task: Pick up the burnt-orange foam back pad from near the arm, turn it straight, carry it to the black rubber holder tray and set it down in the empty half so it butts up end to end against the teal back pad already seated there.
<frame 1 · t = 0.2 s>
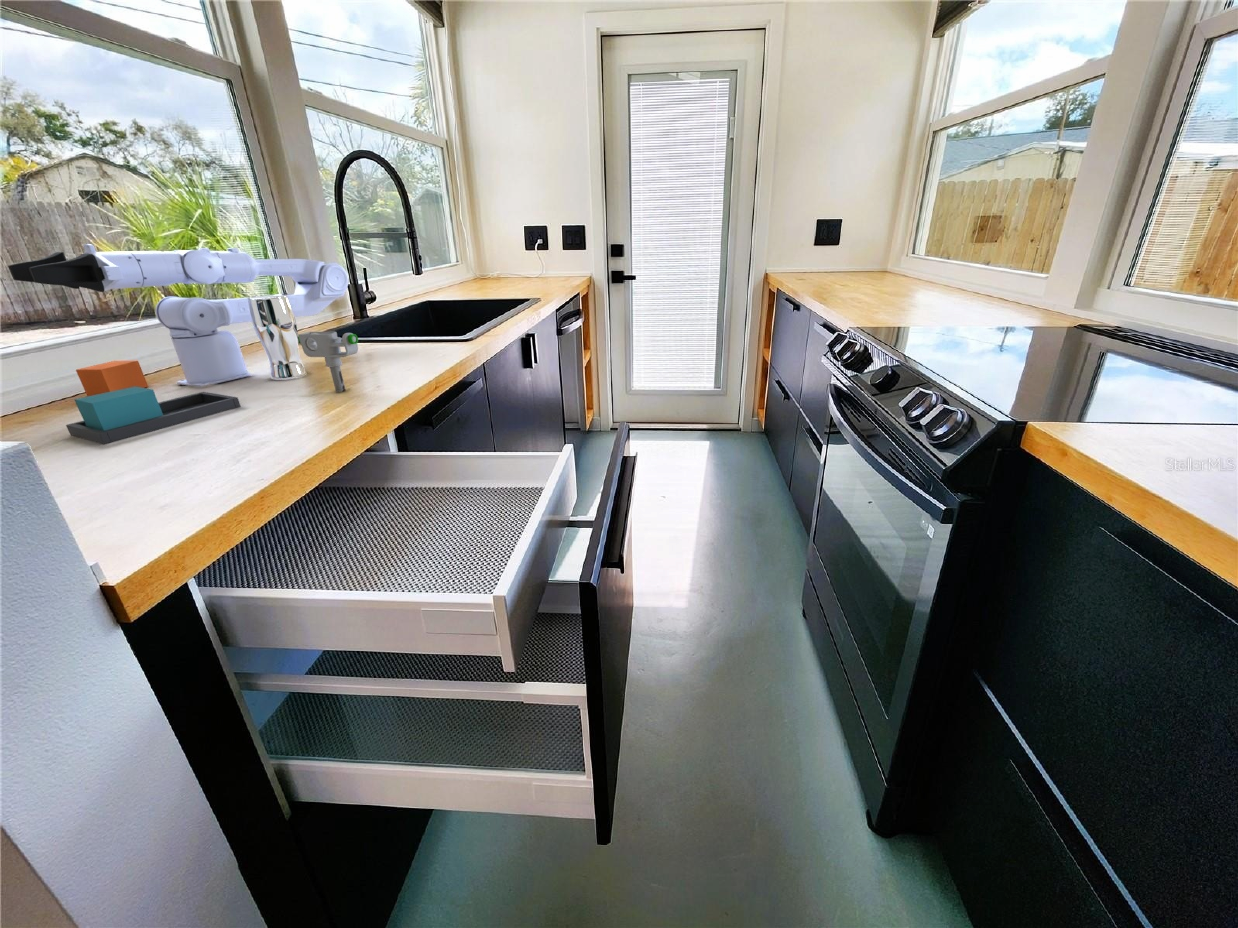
hand: (21, 274, 79), 21 cm above the counter, tool horizontal, fingers open, 7 cm apart
orange pad: (119, 391, 98), on the counter
pad tray: (162, 423, 79), on the counter
teal pad: (129, 428, 76), resting on pad tray
mechanical component: (341, 392, 93), on the counter
beer glass: (290, 377, 104), on the counter
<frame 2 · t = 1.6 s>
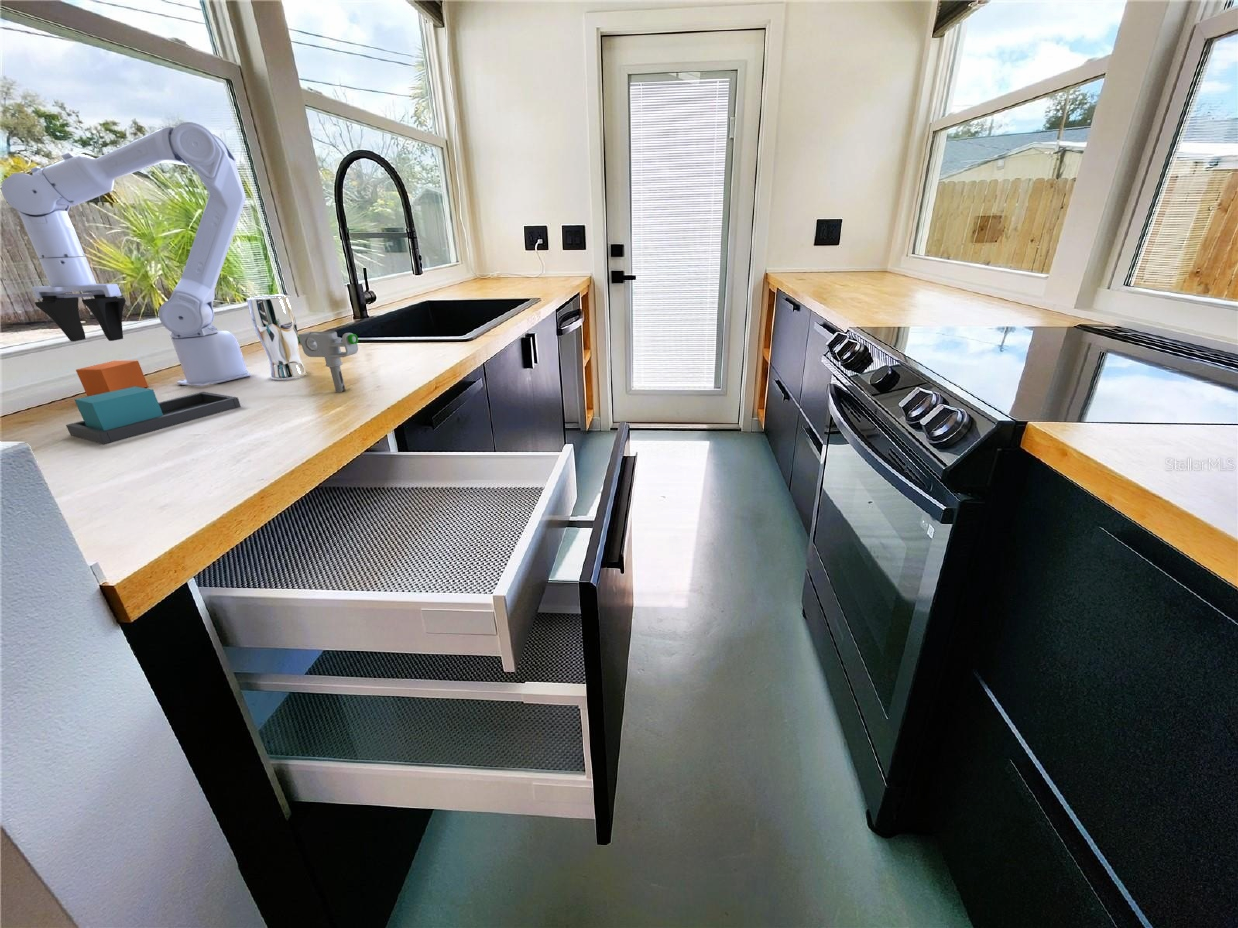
hand: (97, 340, 94), 9 cm above the counter, tool pointing down, fingers open, 7 cm apart
nothing on the counter moved.
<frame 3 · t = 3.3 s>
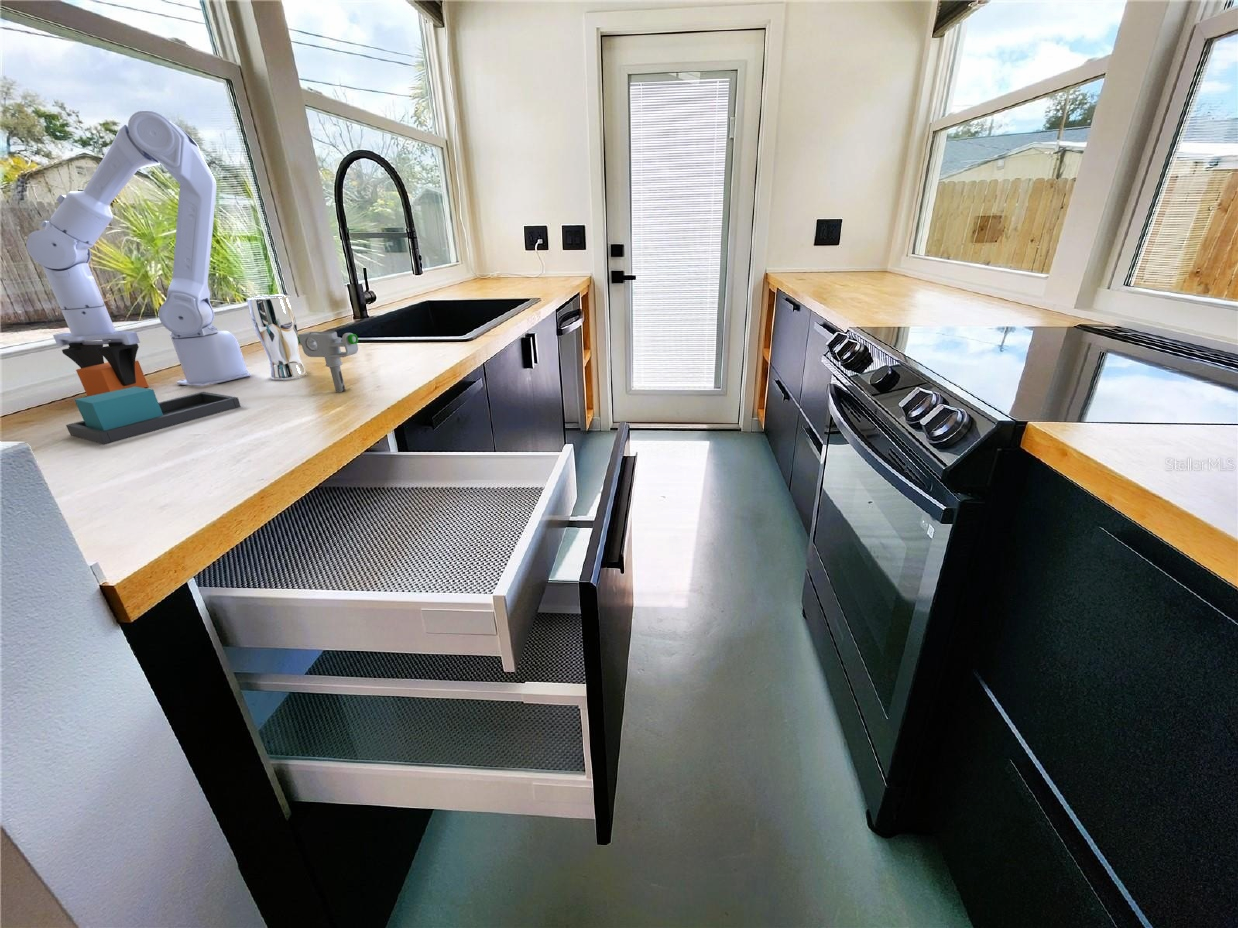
hand: (115, 384, 97), 1 cm above the counter, tool pointing down, fingers closed on orange pad, 5 cm apart
orange pad: (119, 391, 98), on the counter, touching gripper
everything else where it was.
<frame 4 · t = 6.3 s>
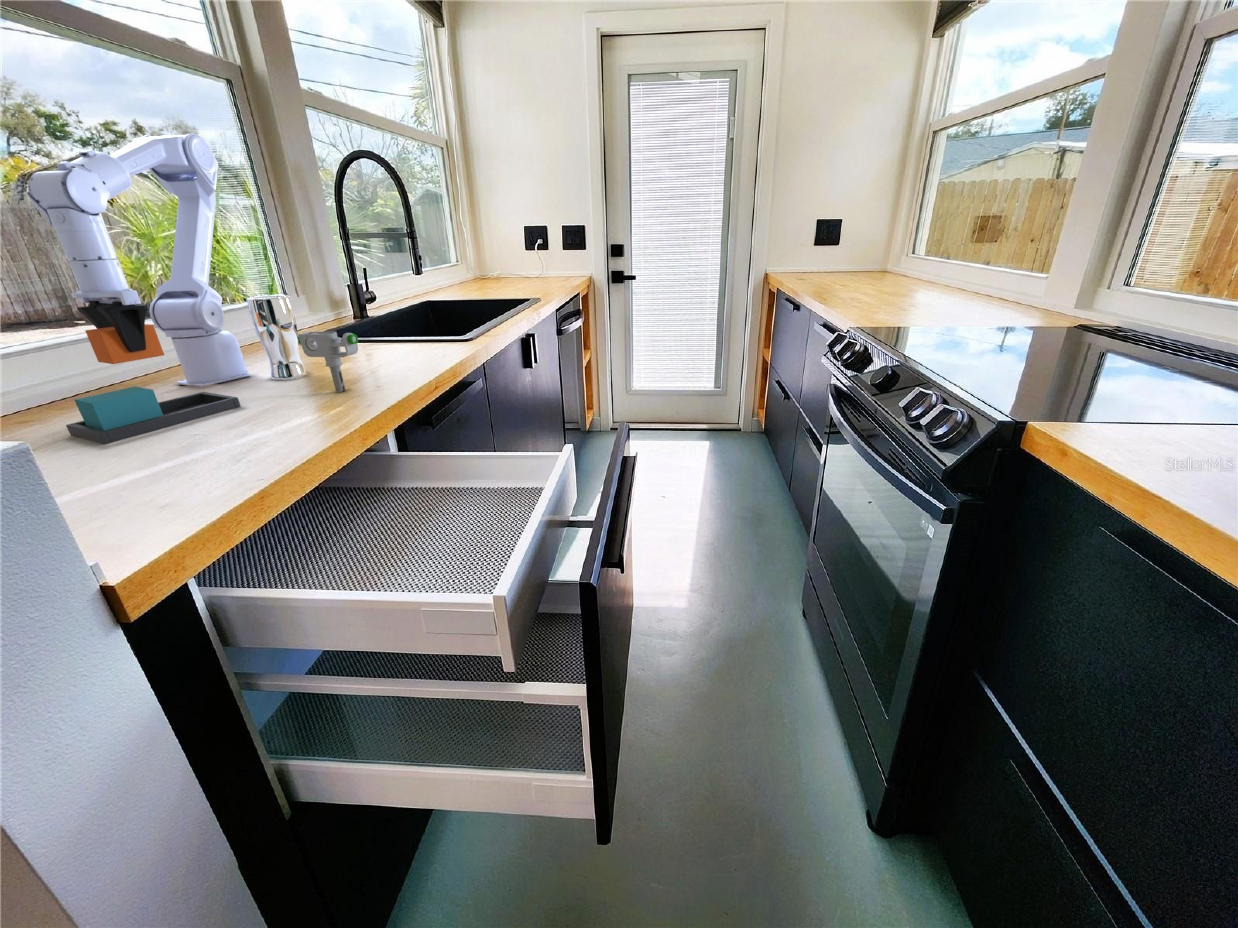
hand: (129, 349, 86), 9 cm above the counter, tool pointing down, fingers closed on orange pad, 5 cm apart
orange pad: (132, 358, 87), point 8 cm above the counter, touching gripper
everything else where it was.
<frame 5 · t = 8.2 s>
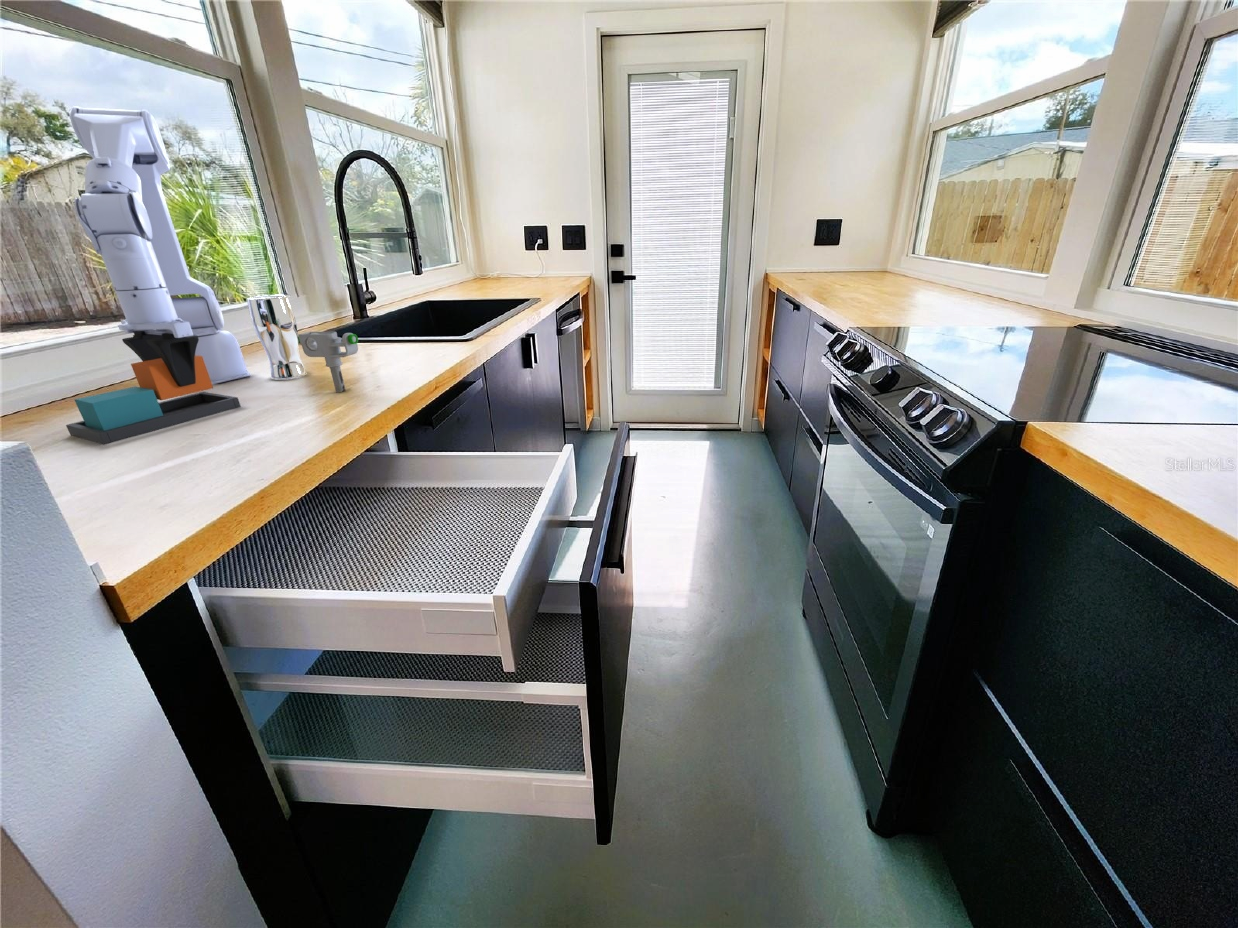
hand: (176, 383, 80), 5 cm above the counter, tool pointing down, fingers closed on orange pad, 5 cm apart
orange pad: (179, 392, 81), point 4 cm above the counter, touching gripper
everything else where it was.
when the fingers open (2 cm above the counter, at t = 9.7 s): orange pad stays where it is, resting on pad tray.
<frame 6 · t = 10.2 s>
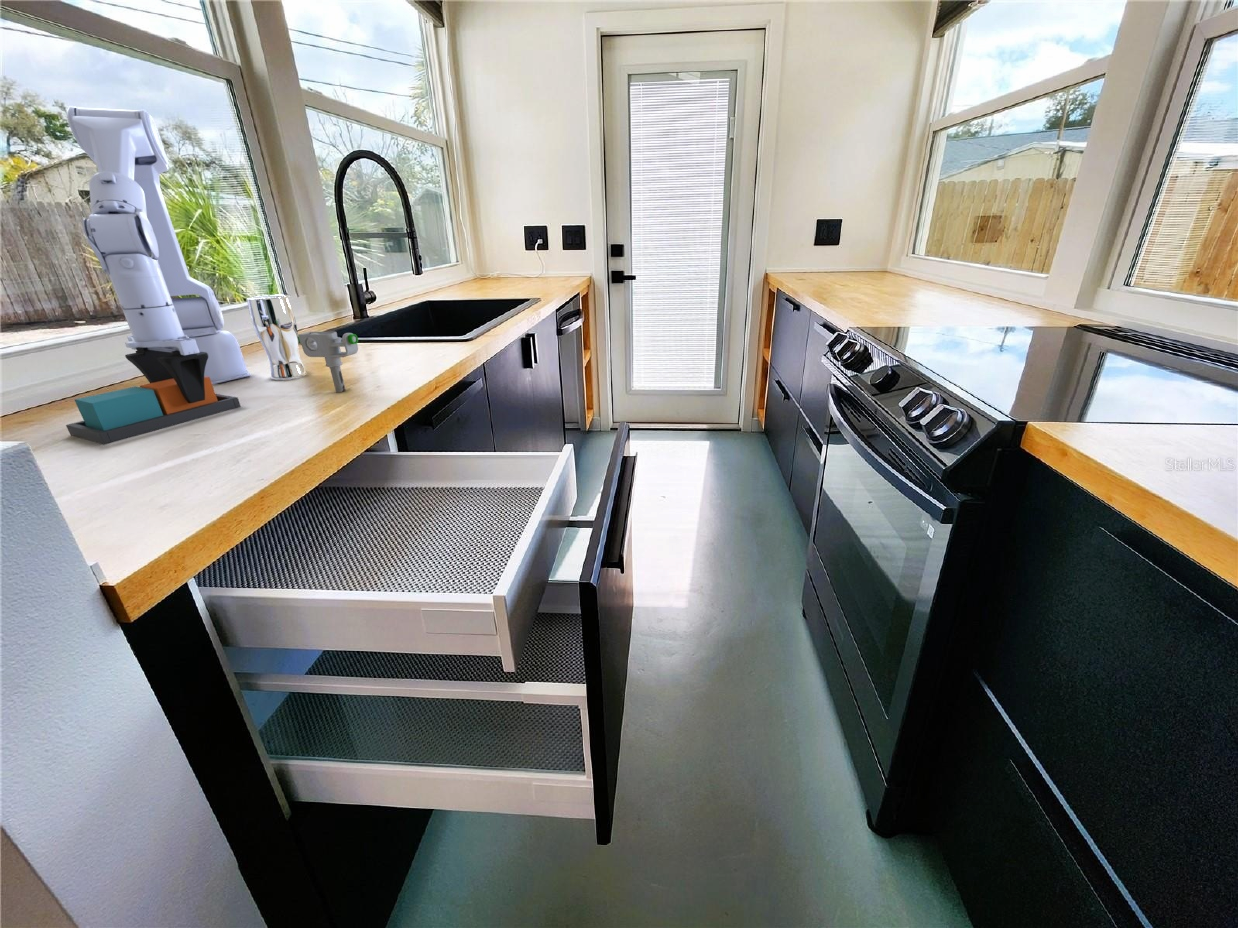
hand: (182, 398, 81), 3 cm above the counter, tool pointing down, fingers open, 7 cm apart
orange pad: (187, 413, 82), resting on pad tray
everything else where it was.
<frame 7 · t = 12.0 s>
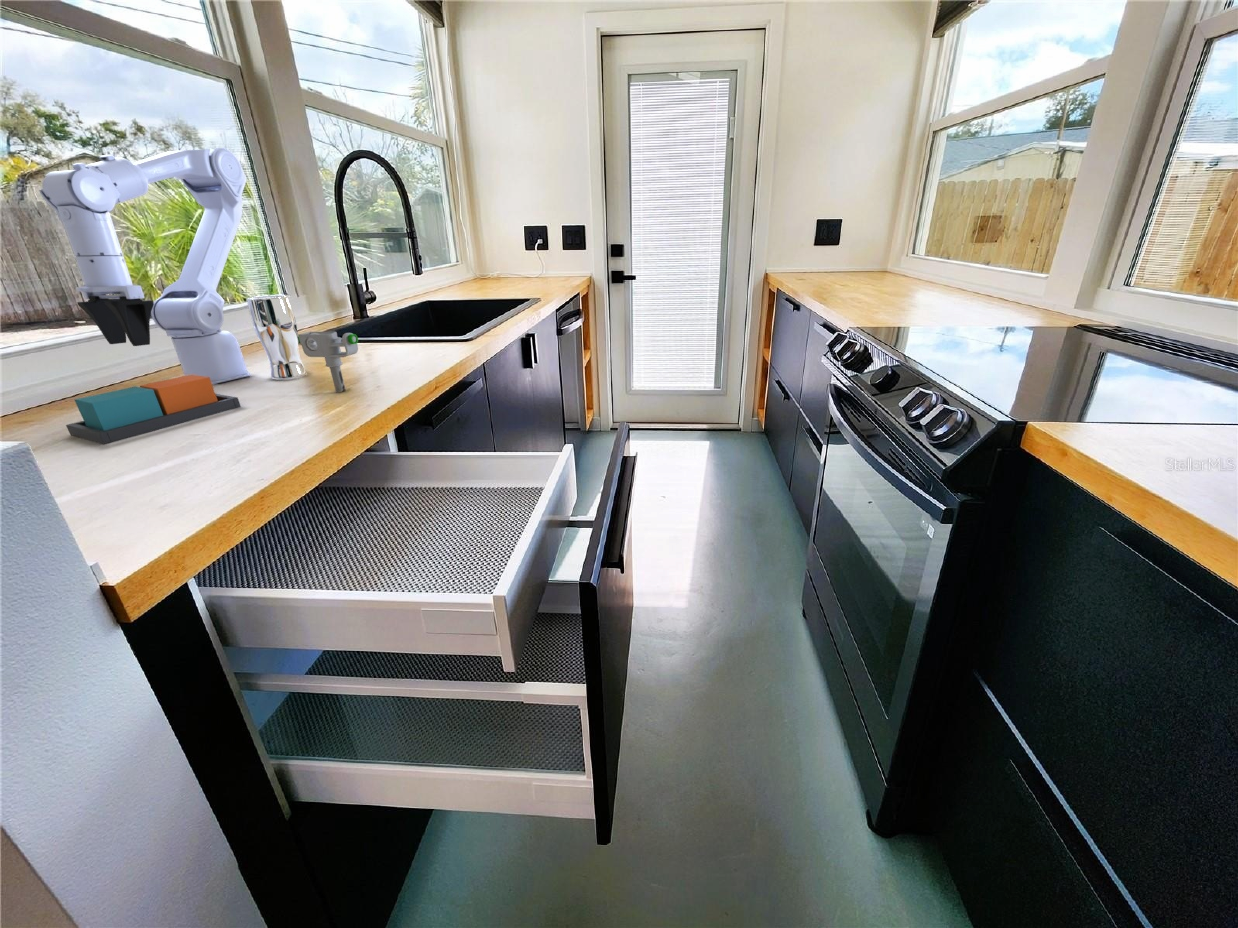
hand: (129, 344, 89), 9 cm above the counter, tool pointing down, fingers open, 7 cm apart
nothing on the counter moved.
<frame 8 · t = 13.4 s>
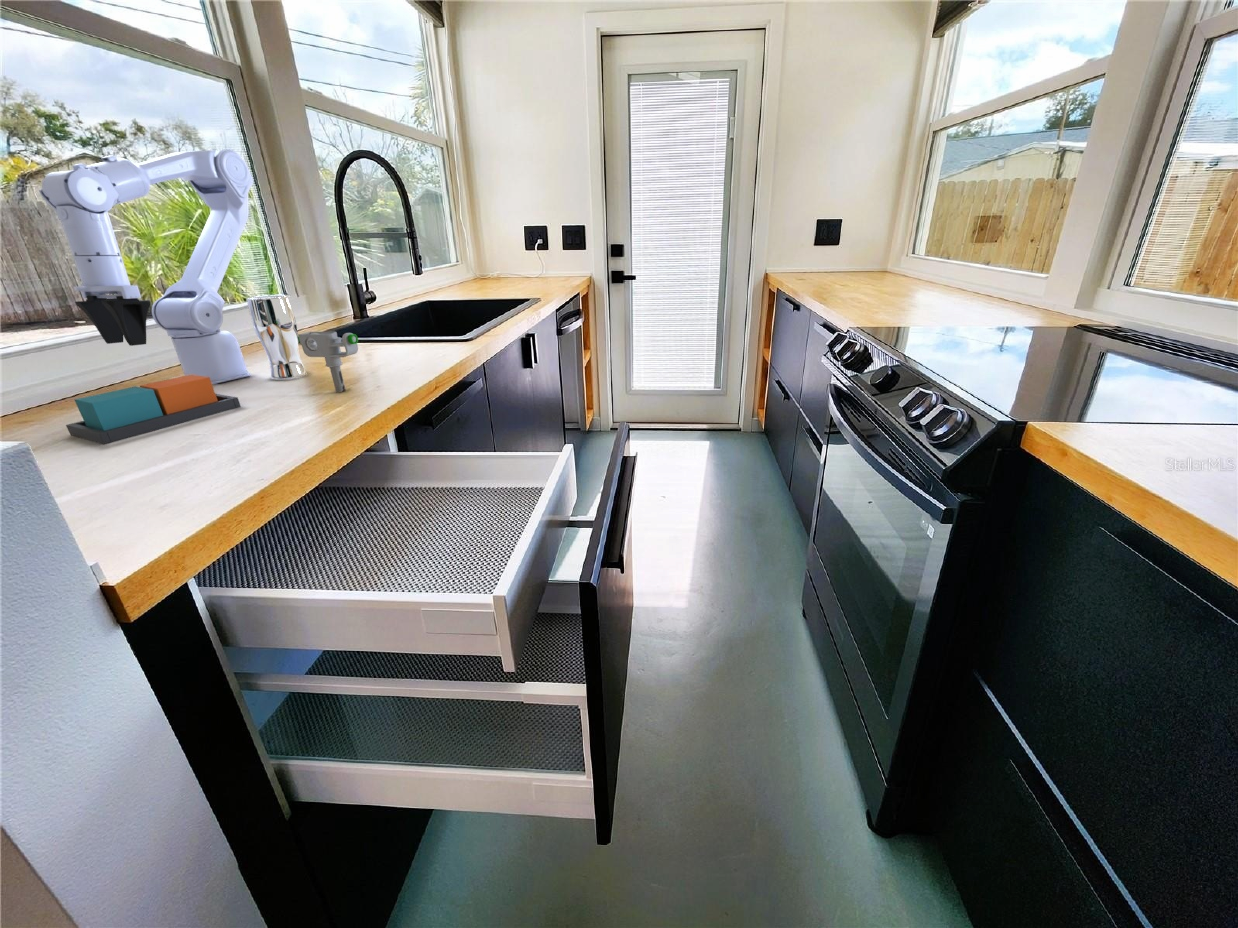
hand: (126, 344, 89), 9 cm above the counter, tool pointing down, fingers open, 7 cm apart
nothing on the counter moved.
at the end: orange pad 0.8 cm from the target spot in the pad tray, point 0.5 cm above the pad tray's base; orange pad 7.5 cm from the teal pad (horizontally); orange pad tilted 0° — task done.
